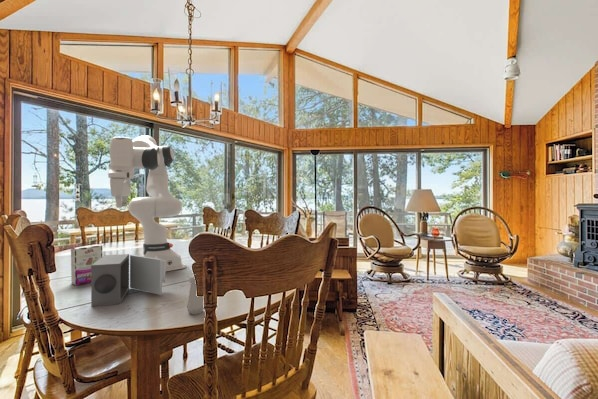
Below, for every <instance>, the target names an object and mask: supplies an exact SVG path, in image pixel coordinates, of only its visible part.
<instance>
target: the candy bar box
mask: <svg viewBox="0 0 598 399" xmlns="http://www.w3.org/2000/svg"><path fill="white" fill-rule="evenodd" d="M102 257H103V245H102V244H99V243H98V244H91V245H82V246H77V247H70V262H71V263H70V266H71V268H70V270H71V273H70V274H71V284H72V285H74V286H80V285H85V284H91V265H92V264H94V263H95V262H96V261H98V260H99V259H100V258H102Z"/></svg>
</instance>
